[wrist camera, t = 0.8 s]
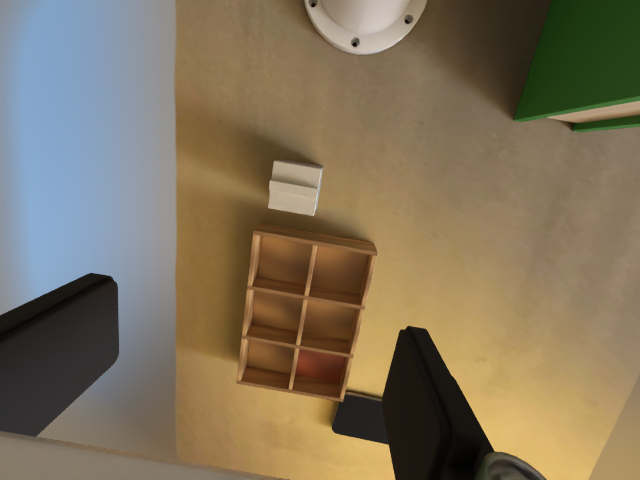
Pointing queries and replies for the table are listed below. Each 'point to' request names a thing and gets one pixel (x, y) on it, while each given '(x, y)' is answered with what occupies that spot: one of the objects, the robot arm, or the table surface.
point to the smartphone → (360, 418)
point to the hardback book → (586, 66)
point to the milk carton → (295, 187)
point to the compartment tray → (303, 311)
